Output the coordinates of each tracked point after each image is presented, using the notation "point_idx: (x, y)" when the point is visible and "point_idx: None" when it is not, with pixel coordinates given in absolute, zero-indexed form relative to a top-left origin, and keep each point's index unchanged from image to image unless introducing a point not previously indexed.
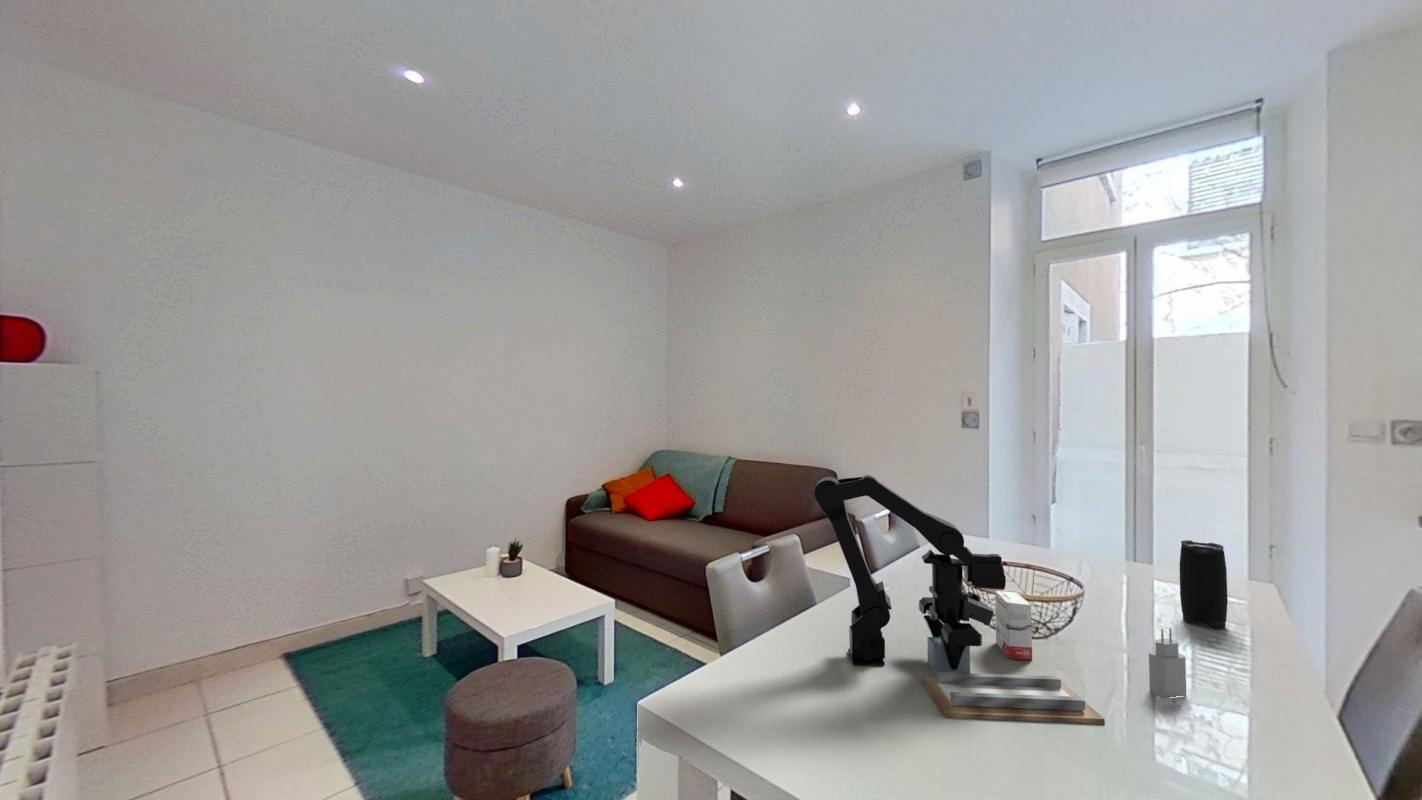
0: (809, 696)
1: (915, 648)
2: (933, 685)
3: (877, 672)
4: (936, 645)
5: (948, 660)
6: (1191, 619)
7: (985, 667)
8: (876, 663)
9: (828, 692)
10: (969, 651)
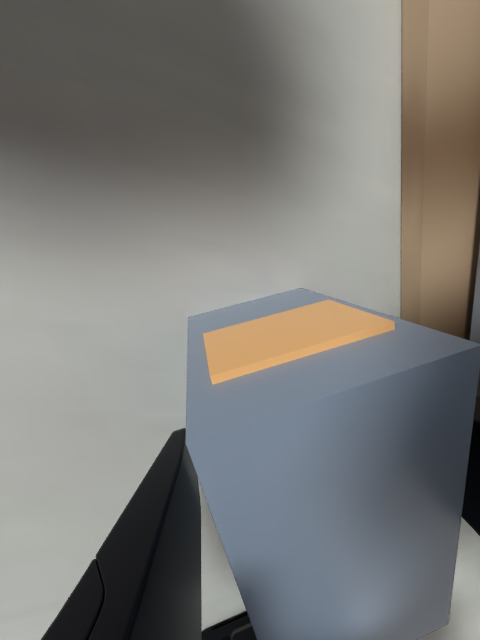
0: (470, 636)
1: (67, 542)
2: None
3: None
4: (447, 610)
5: None
6: None
7: (185, 167)
8: None
9: (457, 621)
10: (416, 327)
